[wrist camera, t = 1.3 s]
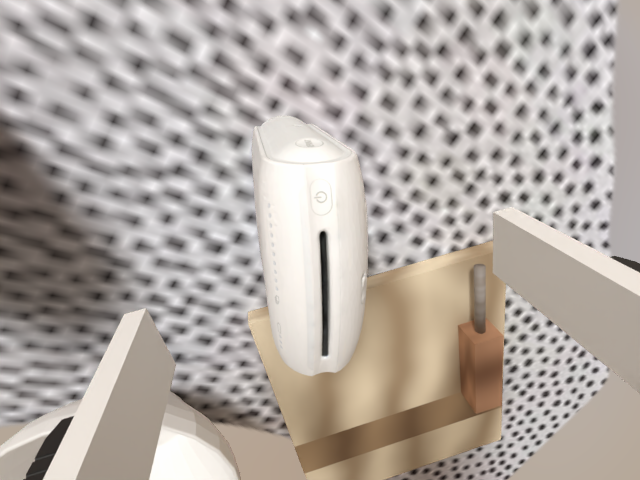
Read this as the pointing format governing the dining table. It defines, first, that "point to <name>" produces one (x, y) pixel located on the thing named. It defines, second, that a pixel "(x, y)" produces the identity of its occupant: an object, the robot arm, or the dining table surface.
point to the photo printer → (310, 242)
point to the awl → (481, 353)
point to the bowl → (171, 453)
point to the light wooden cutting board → (392, 376)
